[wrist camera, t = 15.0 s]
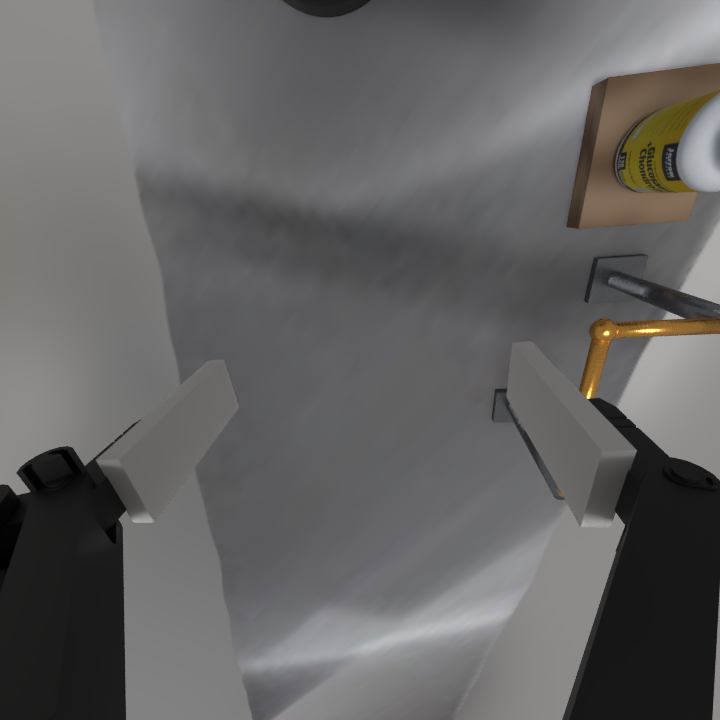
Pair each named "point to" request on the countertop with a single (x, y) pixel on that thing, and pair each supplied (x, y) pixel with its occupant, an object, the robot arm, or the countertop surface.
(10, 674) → the robot arm
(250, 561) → the countertop surface
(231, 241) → the countertop surface
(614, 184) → the pad
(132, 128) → the countertop surface
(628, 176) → the pill bottle
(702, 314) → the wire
